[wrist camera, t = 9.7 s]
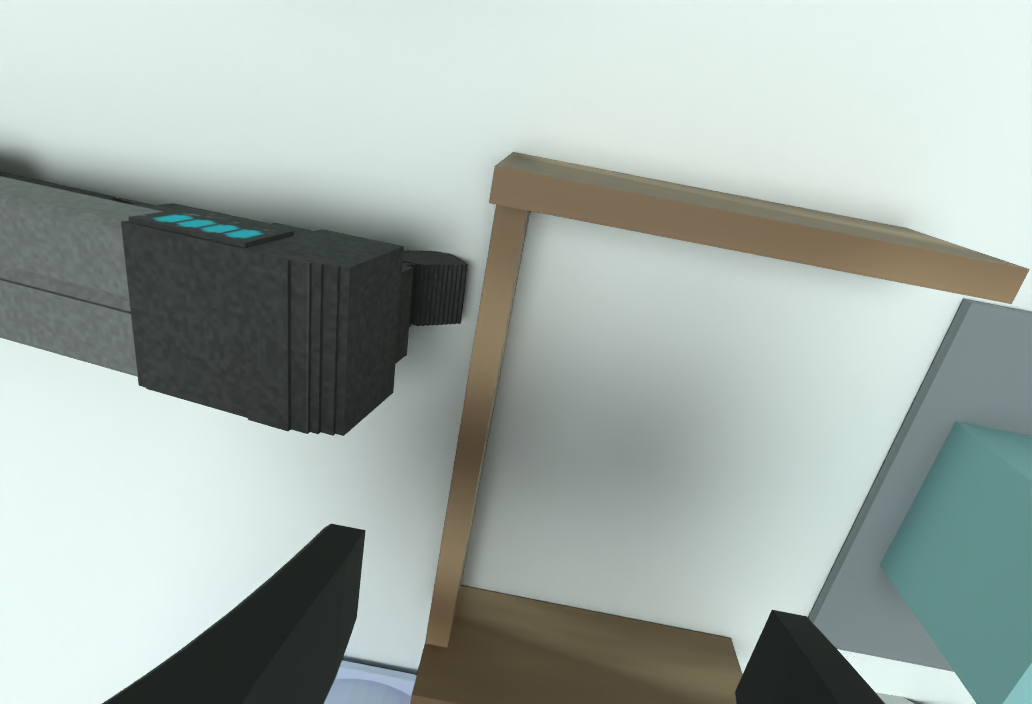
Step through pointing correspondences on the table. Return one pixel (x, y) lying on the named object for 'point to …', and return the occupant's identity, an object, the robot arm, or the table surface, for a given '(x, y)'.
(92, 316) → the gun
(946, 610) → the block
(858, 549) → the mat
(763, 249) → the frame
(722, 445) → the table surface
